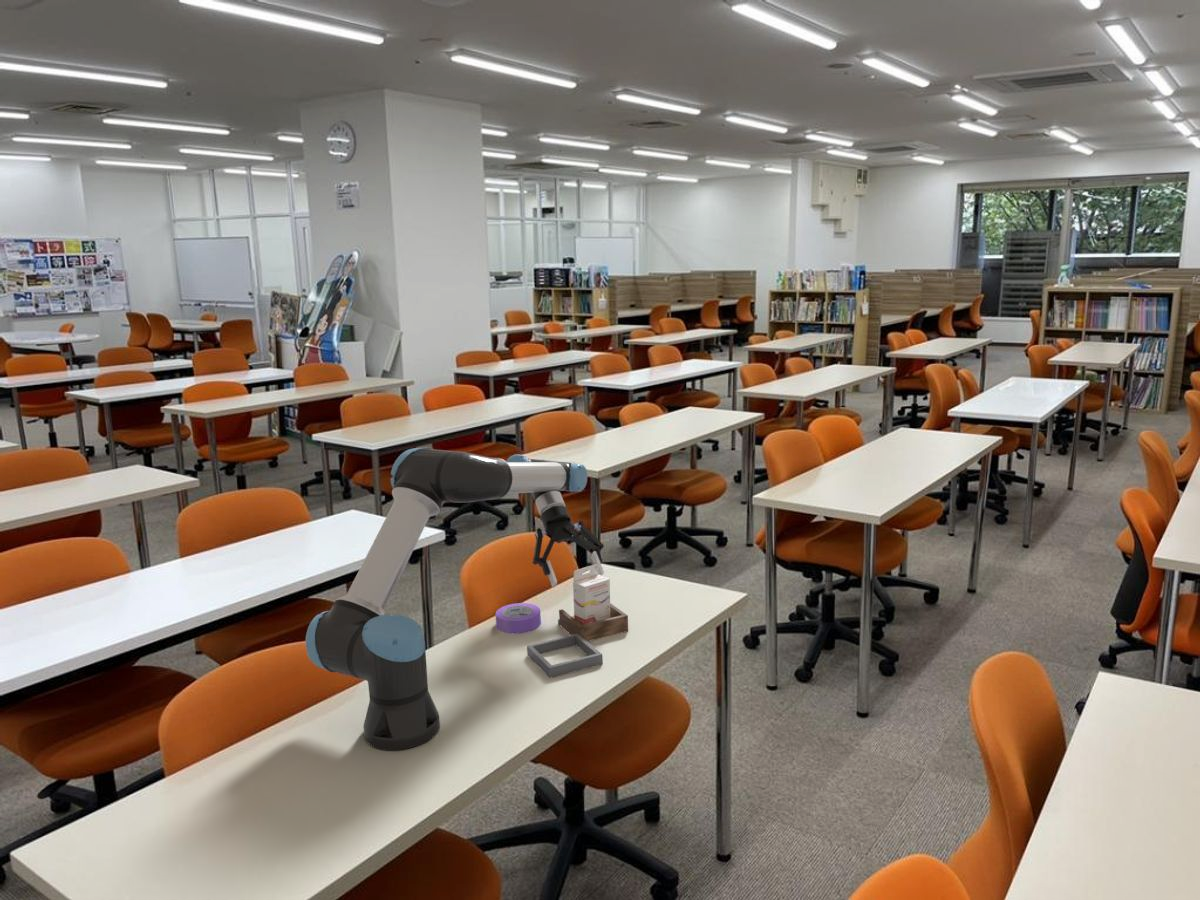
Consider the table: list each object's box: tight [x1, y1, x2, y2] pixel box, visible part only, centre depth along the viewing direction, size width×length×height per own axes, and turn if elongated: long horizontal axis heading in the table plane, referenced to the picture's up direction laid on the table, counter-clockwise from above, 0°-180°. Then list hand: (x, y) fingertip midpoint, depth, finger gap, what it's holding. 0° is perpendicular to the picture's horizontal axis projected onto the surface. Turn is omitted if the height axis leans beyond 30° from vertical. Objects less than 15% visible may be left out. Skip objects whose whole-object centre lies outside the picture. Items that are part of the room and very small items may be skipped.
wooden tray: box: [557, 602, 629, 642], centre depth 223 cm, size 14×14×4 cm
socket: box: [526, 633, 604, 679], centre depth 205 cm, size 14×14×2 cm
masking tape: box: [495, 602, 542, 635], centre depth 226 cm, size 12×12×4 cm
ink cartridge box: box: [572, 564, 611, 625], centre depth 221 cm, size 9×5×15 cm, turn 129°
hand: (578, 579), depth 228 cm, fingers open, 13 cm apart
